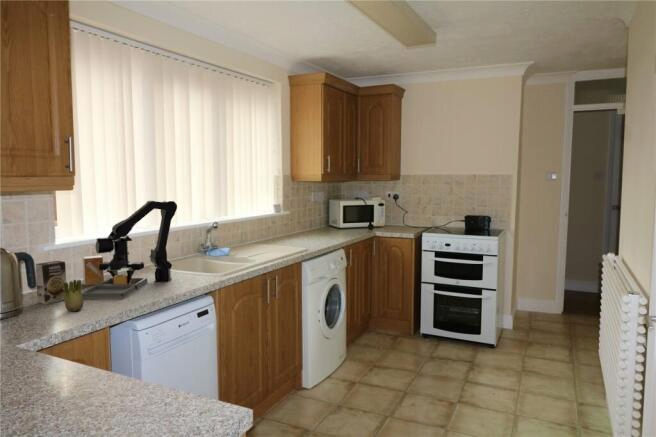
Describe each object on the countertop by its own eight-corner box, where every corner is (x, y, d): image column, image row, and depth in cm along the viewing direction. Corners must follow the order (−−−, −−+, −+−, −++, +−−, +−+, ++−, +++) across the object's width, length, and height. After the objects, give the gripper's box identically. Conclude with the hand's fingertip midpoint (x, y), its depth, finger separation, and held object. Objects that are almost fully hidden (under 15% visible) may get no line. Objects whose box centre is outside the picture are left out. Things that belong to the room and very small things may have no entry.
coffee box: (45, 304, 190) (42, 265, 188) (37, 302, 193) (34, 263, 191) (67, 299, 197) (65, 261, 196) (59, 297, 201) (57, 260, 199)
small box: (85, 286, 220) (83, 258, 219) (83, 283, 225) (82, 256, 224) (104, 283, 225) (103, 256, 223) (102, 281, 230) (100, 254, 229)
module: (131, 284, 223) (130, 272, 222) (125, 288, 216) (124, 275, 215) (120, 284, 223) (119, 272, 222) (114, 288, 216) (113, 275, 215)
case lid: (136, 290, 213) (136, 284, 213) (123, 299, 198) (122, 293, 198) (96, 290, 212) (95, 284, 212) (79, 299, 197) (79, 293, 197)
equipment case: (147, 282, 227) (147, 277, 226) (136, 290, 213) (136, 284, 213) (109, 283, 226) (109, 277, 226) (96, 290, 212) (95, 284, 212)
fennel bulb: (64, 313, 179) (62, 282, 177) (68, 309, 183) (66, 279, 182) (81, 312, 180) (79, 281, 179) (84, 308, 185) (82, 278, 183)
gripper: (92, 254, 210) (94, 288, 211) (134, 254, 210) (136, 288, 212) (103, 250, 221) (105, 282, 222) (143, 250, 221) (145, 282, 223)
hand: (122, 284), depth 219 cm, fingers closed on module, 5 cm apart
